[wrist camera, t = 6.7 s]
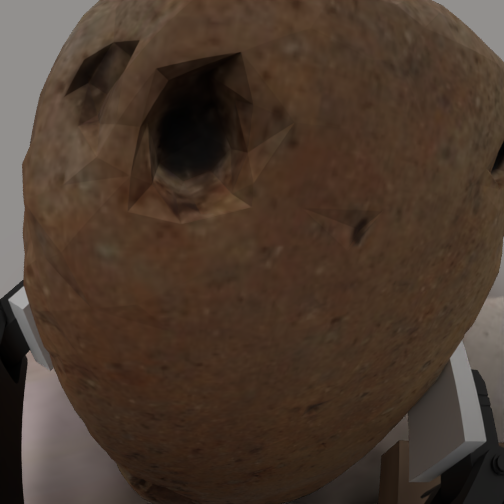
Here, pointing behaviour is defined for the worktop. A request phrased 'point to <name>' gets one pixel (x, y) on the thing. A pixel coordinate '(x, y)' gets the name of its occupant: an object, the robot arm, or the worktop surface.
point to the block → (259, 231)
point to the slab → (402, 478)
